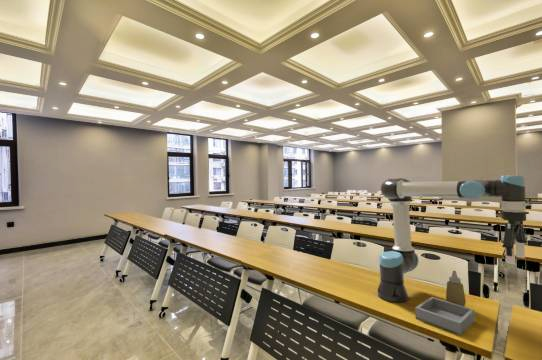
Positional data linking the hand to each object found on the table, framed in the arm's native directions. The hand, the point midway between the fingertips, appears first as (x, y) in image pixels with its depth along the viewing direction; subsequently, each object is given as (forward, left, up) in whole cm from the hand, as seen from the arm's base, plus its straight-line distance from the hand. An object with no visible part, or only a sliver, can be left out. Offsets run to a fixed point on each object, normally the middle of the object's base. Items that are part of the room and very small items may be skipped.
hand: (515, 260), depth 110 cm
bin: (-21, -18, -28) cm, 39 cm away
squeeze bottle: (-22, -2, -28) cm, 36 cm away
